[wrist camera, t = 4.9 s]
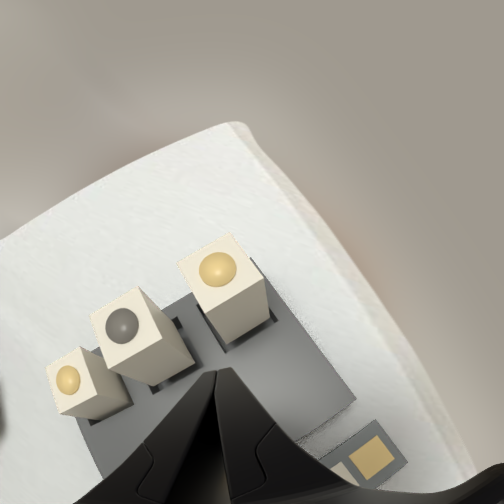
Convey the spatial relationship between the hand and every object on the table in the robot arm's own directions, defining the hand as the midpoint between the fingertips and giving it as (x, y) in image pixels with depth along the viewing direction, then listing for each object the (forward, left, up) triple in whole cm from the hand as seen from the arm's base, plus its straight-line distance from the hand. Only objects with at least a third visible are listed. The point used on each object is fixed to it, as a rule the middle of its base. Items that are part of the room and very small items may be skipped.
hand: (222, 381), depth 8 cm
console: (+3, +3, -13) cm, 14 cm away
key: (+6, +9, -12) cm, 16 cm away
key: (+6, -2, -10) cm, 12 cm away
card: (-8, -1, -13) cm, 15 cm away
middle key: (+6, +3, -10) cm, 12 cm away
